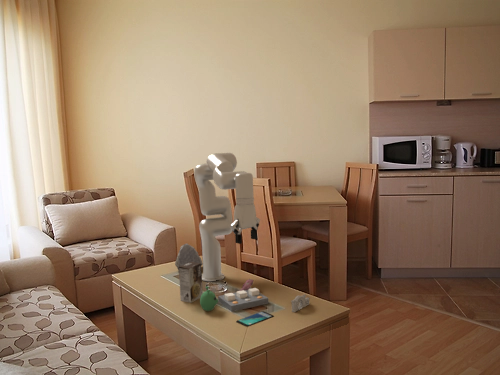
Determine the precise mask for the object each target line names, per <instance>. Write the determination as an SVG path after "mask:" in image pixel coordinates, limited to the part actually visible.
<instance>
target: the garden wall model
mask: <svg viewBox="0 0 500 375" xmlns="http://www.w3.org/2000/svg"><path fill="white" fill-rule="evenodd" d="M310 299H311V297H307V295H306V293H305V294H302V295H296V296H295V298H294V299H293V300H290V302H291V312H292V313H296V312H297V311H301V310H302V309H303V308H305V307H306V306H307V307H308V306H309V305H310ZM300 309H301V310H300Z"/></svg>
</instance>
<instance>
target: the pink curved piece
mask: <svg viewBox="0 0 500 375" xmlns="http://www.w3.org/2000/svg"><path fill="white" fill-rule="evenodd" d="M253 284H254V279H252V278H251V279H250V278H249V279H247V280H246V281H245V282H244V283H243V284H242V288H240V289H239V290H238V291H242V290H244V291H246V290H248V289H252V286H253Z"/></svg>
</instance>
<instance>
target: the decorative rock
mask: <svg viewBox="0 0 500 375" xmlns="http://www.w3.org/2000/svg"><path fill="white" fill-rule="evenodd" d="M176 256H177V257H176V260H175V263H174V264H175V267H176V268H177V270H178V271H179V266H182V265H184V264H186V263H188V262H197V263H201V267H203V259H202V258H201V256H200V255H199V252H198V251H197V250H196V249H195V247H194V246H192V245H190V244H189V243H184V244H182V245H181V246H180V247H179V251H178V254H177V255H176Z"/></svg>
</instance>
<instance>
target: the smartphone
mask: <svg viewBox="0 0 500 375" xmlns="http://www.w3.org/2000/svg"><path fill="white" fill-rule="evenodd" d="M274 317H275V316H274V315H273V314H271V313H270V312H269V313H268V312H266V311H264V310H262V311H260V312H256V313H254V314H252V315H249V316H245V317H243V318H240V319H237V320H235V321H236V323H238V324H239V325H242V326H244V327H245V328H247V327H248V328H249V327H251V326H253V325H257V324H259V323H261V322H263V321H266V320H268V319H271V318H274Z"/></svg>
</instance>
